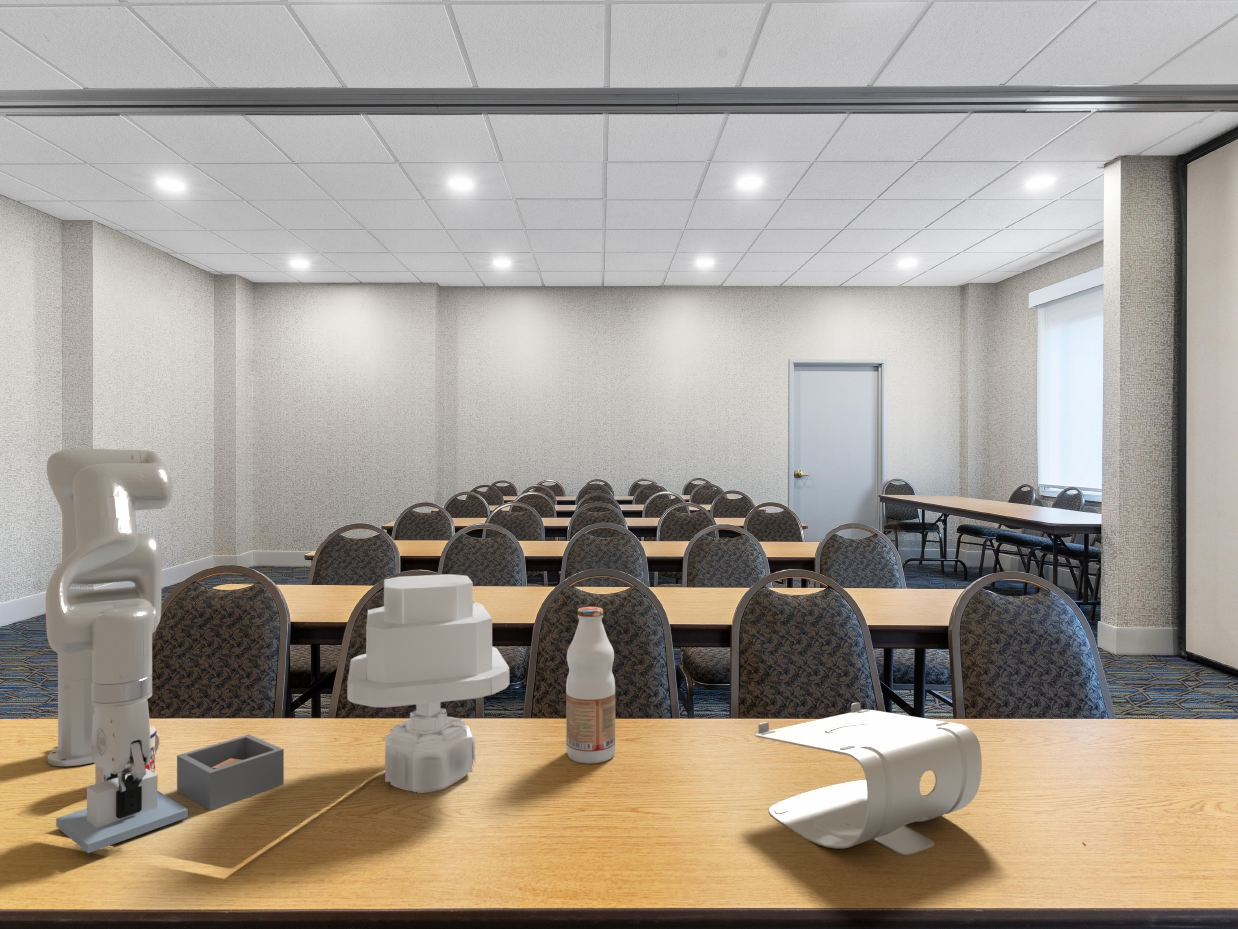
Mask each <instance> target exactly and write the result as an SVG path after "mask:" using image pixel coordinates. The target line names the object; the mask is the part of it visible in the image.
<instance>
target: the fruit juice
mask: <svg viewBox="0 0 1238 929" xmlns="http://www.w3.org/2000/svg"><path fill="white" fill-rule="evenodd" d="M603 617H604V609H603V608H602V607H597V606H583V607H580V608H577V618H578V624H577V627H576V629H575V634H574V635H573V639H572V640H571V643H570V644H569V646H568V648H567V652H566V661H567V665H568V668H569V670H568V675H567V678H566V685H565V696H566V697H565V698H566V700H565V704H566V705H565V706H566V707H565V709H566V712H565V713H566V714H565V715H566V716H565V720H566V723H565V725H566V727H565V728H566V730H565V731H566V734H565V735H566V738H565V741H566V753H567V757H568V758H569V760H571V761H573V762H575V763H580V764H598V763H599V764H600V763H605V762H607V761H609V760H610V759H612V758H613V757H614V756H615V753H616V752H615V751H616V681H615V677H614V673H613V666H614V660H615V650H614V648H613V645H612V644H611V642H610V640H609V638H608V636H607V633H606V629H605V627H604V624H603V621H602V620H603Z"/></svg>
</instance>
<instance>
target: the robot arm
mask: <svg viewBox="0 0 1238 929" xmlns="http://www.w3.org/2000/svg"><path fill="white" fill-rule="evenodd" d="M46 475H47V480H48V484H49V486H50V489H51V491H52V493H53V495H54V497H55V499H56V501H57V503H58V505H59V508H60V512H61V517H62V518H61V519H62V543H61V544H62V548H61V549H62V561H61V563H60V564H59V565H58V566H57V568H56V569H55V570H54V572H53V574H52V575H51V577H50V579H49V581H48V584H47V587H46V593H45V623H46V624H45V626H46V636H47V637H46V638H47V641H48V645H49V646H50V648H51V649H52V650H53V651H54V652H55V653H57V748H55V749H53V750H51V751H50V752H49V753H48V754H47V762H48V764H49V765H51V766H55V767H73V766H74V767H77V766H83V765H89V764H97V765H98V766H100V767H101V768H103V769H104V777H103V778H104V781H108V780H111V779H114V778H118V782H119V791H116V817H117V818H119V819H120V818H123V817H126V816H129V815H132V814H135V813H138V812H140V811H141V810H142V784H143V781H142V778H143V777H144V776H145V775H146V770H145V765H146V764H147V763H148V762H149V760H150V725H151V724H150V723H151V722H150V711H149V703H148V702H149V701H148V699H150V698H151V697H152V696H153V633H155V631H156V630H157V627H158V626H159V624H160V622H161V616H162V584H163V583H162V574H163V570H162V569H163V568H162V567H163V564H162V563H163V562H162V559H163V558H162V549H161V546H160V543H159V540H158V539H157V538H156V537H155V536H154V535H153V534H150V533H147V532H146V533H145V532H138V527H137V518H136V511H143V510H145V511H146V510H162V509H164V508H166V507H167V506H168V505H169V504H170V502H171V500H172V497H173V495H172V494H173V482H172V478H171V474H170V471H169V469H168V467H167V465H166V464H165V462H164V461H163V459H162V458H161V457H160V456H159V455H158V453H156V452H155V451H152V450H148V449H147V450H146V449H113V448H112V449H111V448H110V449H107V448H77V449H76V448H75V449H64V450H59V451H56V452H54V453H53V454H51V455H50V456H49V457H48V459H47V462H46ZM123 582H125V583H126V582H132V583H133V584H134V586H128V587H127V586H126V587H117V588H103V589H92V590H83V591H82V590H80V591H76V592H71V593H69V589H70V588H71V586H72V585H81V586H83V585H84V586H85V585H87V586H88V585H100V584H102V585H103V584H112V583H113V584H114V583H123ZM129 763H131V765H132V766H130V767H127V764H129ZM131 771H132V773H131V775H128V776H127V778H126V780H125V775H127V773H128V772H131Z"/></svg>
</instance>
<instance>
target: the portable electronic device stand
mask: <svg viewBox="0 0 1238 929" xmlns="http://www.w3.org/2000/svg"><path fill="white" fill-rule="evenodd" d="M850 706H851V708H850V709H851V712H848V713H844V714H838V715H833V716H829V717H824V718H821V719H820V718H819V719H816V720H811V721H807V722H802V723H797V724H793V725H789V726H783V727H780V728H776V729H775V728H774V729H770V724H769V722H767V721H765V722H760V723H759V724H758V733H755V734H754V736H755V737H756V738H758V739H759V738H760V739H766V740H769V741H775V742H779V743H785V744H788V745H789V744H790V745H794V746H798V747H803V748H810V749H815V750H819V751H824V752H829V753H833V754H839V755H843V756H849V757H851V758H852V759H854V760H855V761H856V762H857V763H858V764H859V765H860V767H861V769H862V770H863V773H864V776H865V779H861V780H859V779H858V780H852V781H847V782H840V783H837V784H831V785H826V786H824V787H819V788H816V789H812V790H808V791H804V792H802V793H798V794H796V795H793V796H790V797H787V798H786V799H783V800H780V801H778V802H775V803H774V804H772V805H770V807H769V808H768V813H769V815H770V816H771V817H772V818H773V819H775V820H776V821H777V822H779V823H781V824H782V825H783V826H784V827H787V828H788V829H790V830H791V831H792V832H794V833H796V834H797V835H799V836H801V837H802V838H804V839H805V840H807V841H809V842H812V843H813V844H815V845H818V846H821V847H826V848H831V849H847V848H850V847H854V846H857V845H860V844H862V843H866V842H868V841H870V840H872V841H874V842H875V843H877V844H879V845H882V847H885V848H887V849H888V850H890V851H892V852H894V853H896V854H898V855H900V856H911V855H915V854H918V853H920V852H924V851H926V850H928V849H930V848H933V847H934V845H935V844H934V841H933V840H932V839H931V838H929V837H927V836H926V835H924V834H923V833H920V832H918V831H917V830H914V829H912V828H911V827H909V826H907V825H908V824H913V823H914V822H915V823H916V822H926V821H930V820H932V819H936V818H939V817H942V816H944V815H948V814H950V813H953V812H956V811H959V810H963V809H964V808H965V807H967V806H969V804H971V803H972V801H973V800H974V799H975V797H976V796H977V794H978V791H979V787H980V784H981V780H982V773H983V770H982V769H983V768H982V765H983V764H982V763H983V762H982V761H983V759H982V749H981V745H980V744H981V743H980V742H979V739H978V737H977V735H976V733H975V732H974V731H973V730H972V729H971V728H969V726H967V725H964V724H961V723H957V722H950V721H943V720H939V719H937V720H936V719H931V718H924V717H917V716H911V715H904V714H899V713H892V712H887V711H880V710H875V709H862V708H861V706H862V705H861V703H860V702H854V703H851V705H850ZM928 771H931V772H932V773H933V774H934V777H935V782H934V786H933V789H932V790H931V791H930V792H929V793H927V794H926V795H925V794H922V793H921V789H920V788H921V787H920V786H921V785H920V784H921V780H922V777H923V776H924V774H925V773H927V772H928Z"/></svg>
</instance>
